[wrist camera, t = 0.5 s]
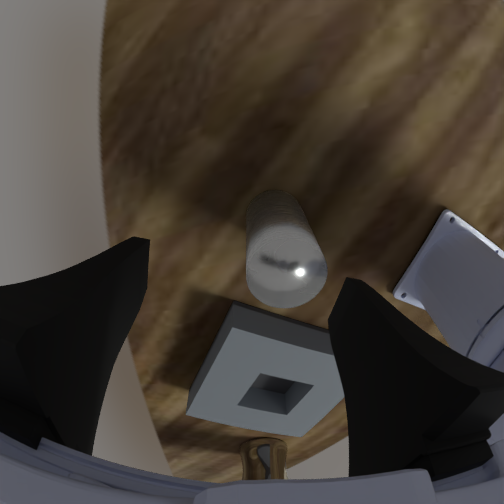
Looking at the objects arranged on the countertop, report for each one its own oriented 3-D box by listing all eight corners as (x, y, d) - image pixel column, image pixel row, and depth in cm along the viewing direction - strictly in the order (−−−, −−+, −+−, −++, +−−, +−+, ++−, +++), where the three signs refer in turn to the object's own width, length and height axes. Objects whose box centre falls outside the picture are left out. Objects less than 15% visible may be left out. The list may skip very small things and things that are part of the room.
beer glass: (250, 461, 36) (252, 556, 23) (225, 442, 33) (222, 552, 20) (298, 451, 35) (309, 550, 22) (278, 430, 32) (287, 548, 19)
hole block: (364, 340, 25) (374, 364, 23) (298, 414, 30) (301, 437, 28) (233, 300, 23) (232, 327, 20) (189, 389, 28) (185, 414, 25)
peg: (312, 203, 20) (341, 256, 13) (287, 250, 21) (303, 316, 15) (259, 181, 19) (266, 225, 13) (237, 230, 20) (233, 294, 14)
